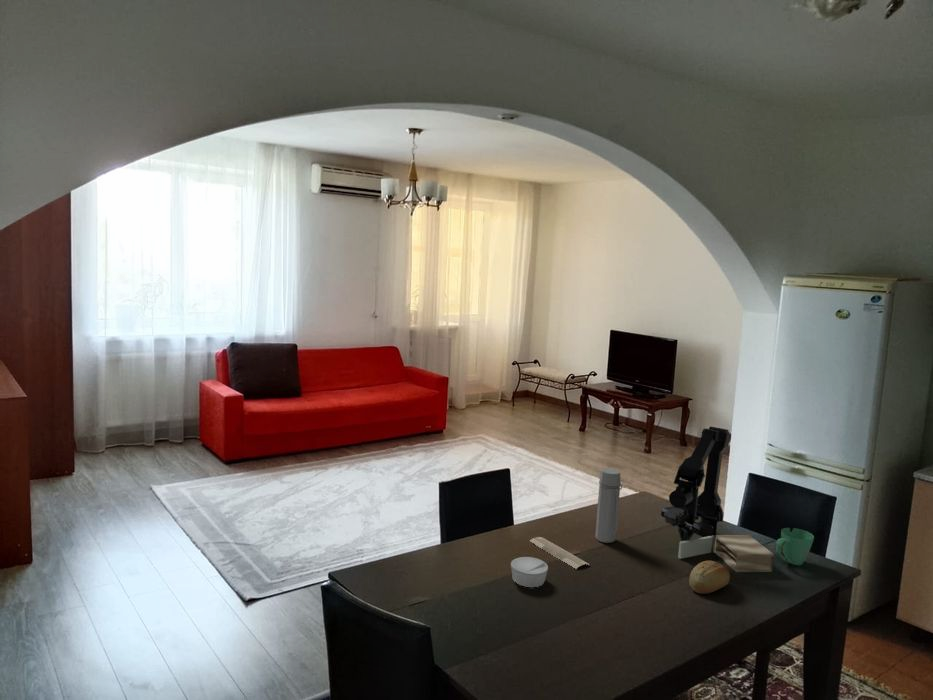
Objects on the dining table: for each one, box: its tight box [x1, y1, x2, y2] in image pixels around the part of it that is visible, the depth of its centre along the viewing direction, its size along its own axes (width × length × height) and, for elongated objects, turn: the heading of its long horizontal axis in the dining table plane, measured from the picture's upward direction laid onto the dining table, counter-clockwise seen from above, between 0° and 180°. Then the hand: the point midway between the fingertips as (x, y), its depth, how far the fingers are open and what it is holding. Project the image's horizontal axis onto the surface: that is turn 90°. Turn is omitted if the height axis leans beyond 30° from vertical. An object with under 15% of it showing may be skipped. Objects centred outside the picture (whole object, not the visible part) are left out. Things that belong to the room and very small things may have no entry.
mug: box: [775, 527, 815, 566], centre depth 220 cm, size 15×10×10 cm
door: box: [677, 535, 716, 560], centre depth 223 cm, size 15×1×6 cm, turn 116°
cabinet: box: [713, 534, 774, 573], centre depth 220 cm, size 15×12×6 cm
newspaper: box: [529, 536, 591, 570], centre depth 219 cm, size 24×7×2 cm, turn 34°
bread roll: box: [688, 560, 731, 595], centre depth 200 cm, size 10×15×8 cm, turn 129°
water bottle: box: [595, 467, 623, 544], centre depth 230 cm, size 9×8×25 cm
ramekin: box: [510, 556, 549, 588], centre depth 199 cm, size 11×11×5 cm
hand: (684, 544), depth 224 cm, fingers closed
